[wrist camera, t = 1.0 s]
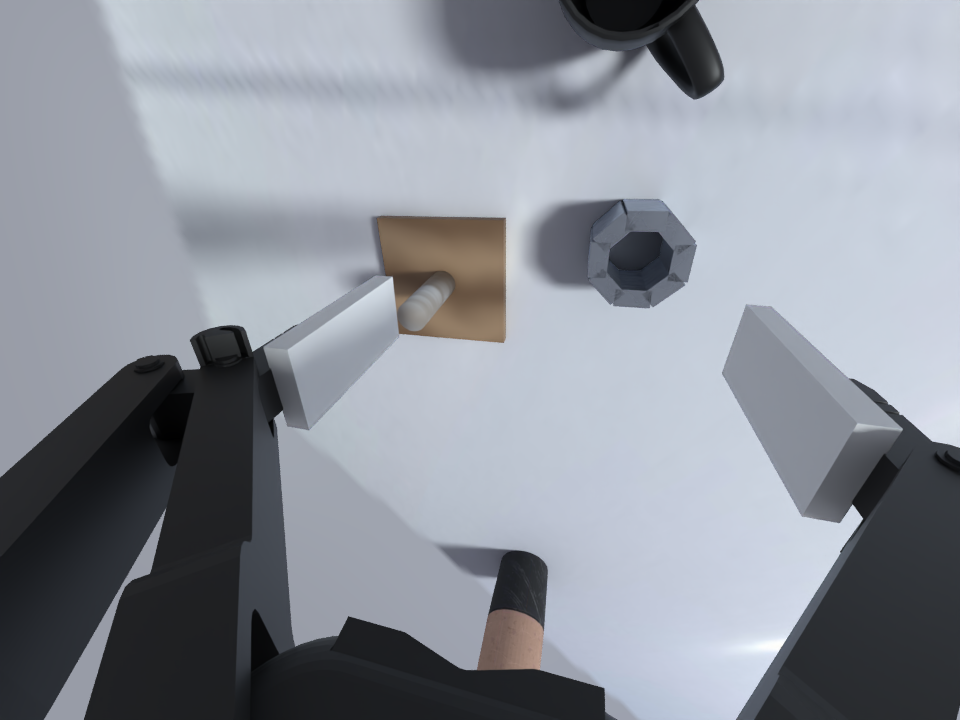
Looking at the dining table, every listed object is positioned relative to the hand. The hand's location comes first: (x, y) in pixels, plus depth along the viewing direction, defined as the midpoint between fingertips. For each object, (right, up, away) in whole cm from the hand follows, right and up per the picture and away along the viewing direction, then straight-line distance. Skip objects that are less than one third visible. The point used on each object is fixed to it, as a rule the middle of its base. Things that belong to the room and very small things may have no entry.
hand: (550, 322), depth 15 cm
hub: (+10, +8, +18) cm, 22 cm away
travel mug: (+4, -33, +45) cm, 56 cm away
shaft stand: (-6, +7, +24) cm, 25 cm away
